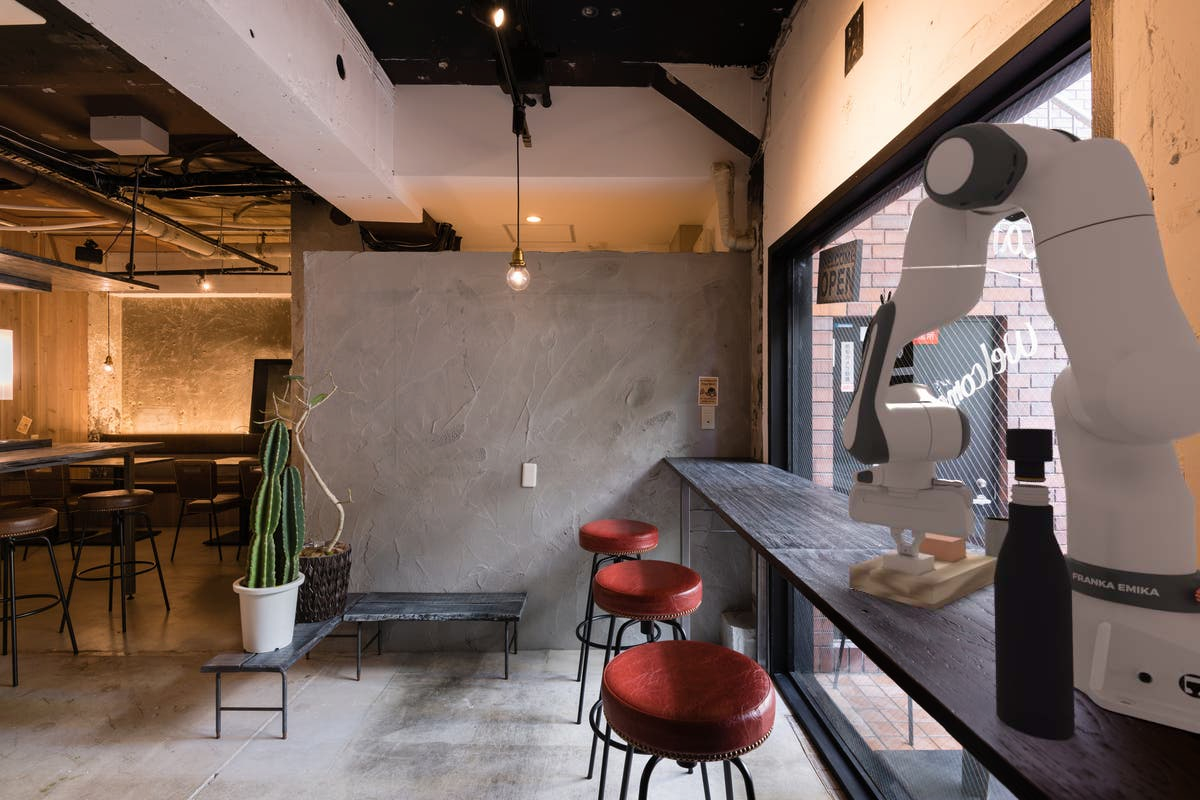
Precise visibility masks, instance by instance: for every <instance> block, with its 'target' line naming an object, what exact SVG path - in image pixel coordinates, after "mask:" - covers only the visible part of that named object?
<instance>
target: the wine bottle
mask: <svg viewBox="0 0 1200 800" xmlns="http://www.w3.org/2000/svg"><path fill="white" fill-rule="evenodd" d="M1053 435H1054V434H1053V429H1051V428H1023V427H1022V428H1019V427H1018V428H1017V427H1016V428H1006V429H1005V439H1006V440H1005V450H1006V451H1005V454H1006V458H1005V459H1006V460H1008V461H1014V476H1013V479H1014V481H1016V482H1023V483H1015V484H1014V483H1013V484H1011V488H1010V489H1009V491H1010V492H1011V495H1010V497H1009V498H1011V501H1008V503H1007V518H1008V531H1007V533H1006V536H1005V538H1004V541H1003V543H1002V546H1001V549H1000V551H999V554H998V558H997V563H996V568H995V573H994V582H993V590H994V591H993V593H994V594H993V597H994V598H993V600H994V601H993V602H994V607H993V609H994V650H995V651H994V653H995V655H994V656H995V700H996V701H995V706H996V715H997V716H998V719H1000V720H1001V721H1002V723H1004V724H1005V725H1007V726H1008V727H1011V729H1014V730H1017V731H1018V732H1021V733H1023V734H1026V735H1030V736H1033V737H1036V738H1041V739H1046V740H1056V741H1058V740H1059V741H1061V740H1067V739H1071V738H1072V737H1074V736H1075V732H1076V731H1075V728H1076V727H1075V726H1076V725H1075V722H1076V721H1075V720H1076V719H1075V716H1076V715H1075V687H1074V666H1073V617H1072V585H1071V580H1070V576H1069V571H1068V568H1067V564H1066V560H1065V558H1064V554H1063V551H1062V549H1061V546H1060V544H1059V541H1058V538H1057V537H1056V534H1055V528H1054V527H1055V526H1054V525H1055V524H1054V523H1055V522H1054V521H1055V519H1054V518H1055V517H1054V506H1053V505H1052V504H1050V503H1049V502H1051V500H1052V499H1051V498H1050V497H1049V495H1050V494H1051V491H1050V490H1049V486H1047V485H1041V484H1031V483H1045V482H1046V481H1047V478H1046V464H1045V463H1052V462H1054V444H1053V443H1054V441H1053V439H1054V438H1053ZM1028 483H1030V484H1028Z"/></svg>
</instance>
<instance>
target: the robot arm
mask: <svg viewBox="0 0 1200 800" xmlns="http://www.w3.org/2000/svg"><path fill="white" fill-rule="evenodd" d="M921 173H922V175H921V176H922V185H923V189H924V191H925V193H926V197H924V198H922V199H921V200H919V202H918V203H917V204H916V206H915V207H914V208H913V210H912V213H911V217H910V221H909V225H908V229H907V232H906V233H907V234H906V238H905V241H904V243H905V244H904V247H903V255H902V256H903V257H902V266H901V274H900V279H899V281H898V284H897V287H896V289H895V291H894V293H893V294H892V296H891V297H890V298H889V300H888V301H886V302H884V303H882V304H881V305H880V306H879V307H878V308H877V310H876V311H875V314H874V316H873V319H872V322H871V324H870V328H869V332H868V334H867V339H866V342H865V347H864V349H863V350H864V351H863V355H862V358H861V363H860V366H859V370H858V374H857V379H856V383H855V387H854V390H853V394H852V397H851V401H850V404H849V405H848V408H847V411H846V414H845V417H844V420H843V426H842V433H841V435H842V439H841V440H842V445H843V449H844V450H845V451H846V452H847V453H848V454H849V455H850V456H851V457H852V458H854V459H855V461H857V462H859V463H861V464H862V465H864V466H869V467H868V468H864V469H860V470H856V471H853V472H852V474H851V481H852V482H853V483H854V484H853V485H852V486H851V488H850V490H849V495H848V516H849V518H850V519H851V520H852V521H853V522H855V523H863V524H867V525H868V524H869V525H874V526H880V527H887V528H889V529H890V535H891V537H892V539H893V540H894V542H895V544H896V547H897V548H896V550H897V552H898V554H903V555H908V556H913V557H916V556H918V555H919V546H920V544H921V543H922V541H923V540H924V538H925V537H926V534H927V533H930V534H936V535H942V536H949V537H955V538H969V537H971V536H972V535H973V534H974V533H975V527H976V525H975V518H974V512H973V504H974V491H973V489H972V488H971V487H970V486H969V485H967V484H966V483H964V482H963V481H962V480H955V479H954V480H949V479H944V478H936V476H937V475H936V463H942V462H943V463H945V462H950V461H956V460H957V459H959V458H960V457H961V456H962V455H963V454H964V453H965V452H966V450H967V449H968V448H969V446H970V443H971V423H970V421H969V418H968V416H967V415H966V414H965V412H963V411H962V410H961V409H960V407H958V406H956V405H955V404H952V403H950V404H949V403H947V402H945V401H942V400H940V399H938V398H937V397H936V396H934V394H933V391H932V388H931V387H930V386H929V385H927V384H923V383H919V382H918V383H917V382H906V383H900V384H899V383H898V384H893V385H890V381H891V378H892V374H893V370H894V367H895V362H896V360H897V357H898V355H899V353H901V351H902V349H903V348H905V346H907V345H908V344H909V343H910V342H913V340H914V341H915V340H916V339H917V338H920V337H922V336H924V335H926V334H929V333H931V332H935V331H937V330H940V329H942V328H945V327H948V326H950V325H952V324H954V323H956V322H958V321H959V320H961V319H963V318H964V317H965V316H967V315H968V314H969V313H970V312H971V311H972V310H973V309H974V308H975V307H976V306H977V305H978V303H979V302H980V299H981V297H982V295H983V290H984V287H985V281H986V280H985V279H986V274H987V273H986V271H987V263H988V262H987V261H988V247H989V242H990V241H989V240H990V236H991V234H992V231H993V230H994V228H995V227H996V226H997V225H998V224H999V223H1000V222H1002V220H1005V221H1009V222H1010V223H1014V222H1018V221H1020V220H1022V219H1025V218H1027V219H1028V222H1029V225H1030V229H1031V234H1032V241H1033V247H1034V252H1035V258H1036V263H1037V267H1038V273H1039V277H1040V283H1041V290H1042V293H1043V299H1044V304H1045V309H1046V311H1047V314H1048V315H1049V316H1050V317H1051V319H1052V321H1053V323H1054V324H1055V328H1056V330H1057V332H1058V334H1059V337H1060V340H1061V342H1062V346H1063V347H1064V350H1065V353H1066V356H1067V359H1068V361H1069V364H1068V365H1066V366H1065V367H1064V368H1063V369H1062V370H1061V372H1059V374H1058V376H1057V377H1056V378H1055V380H1054V382H1053V384H1052V387H1051V391H1050V402H1051V407H1052V410H1053V411H1052V412H1053V420H1054V429H1055V437H1056V443H1057V450H1058V455H1059V459H1060V461H1059V462H1060V467H1061V470H1062V476H1063V482H1064V490H1065V491H1064V492H1065V510H1066V511H1065V520H1066V553H1064V554H1063V555H1064V558H1065V560H1066V564H1067V568H1068V571H1069V576H1070V580H1071V585H1072V617H1073V666H1074V688H1076V689H1078V690H1079V691H1081V692H1082V693H1084V694H1085V695H1087V696H1088V698H1090V699H1091V700H1092V701H1093V703H1095V704H1096V705H1098V706H1099V707H1100V708H1103V709H1106V710H1107V711H1110V712H1111V711H1112V712H1114V713H1117V714H1122V715H1126V716H1131V717H1135V718H1137V719H1142V720H1144V721H1145V720H1146V721H1149V722H1154V723H1157V724H1160V725H1165V726H1168V727H1172V728H1176V729H1180V730H1184V731H1187V732H1191V733H1195V734H1199V735H1200V569H1198V567H1197V566H1198V564H1197V562H1198V561H1197V531H1196V530H1197V528H1196V527H1197V526H1196V525H1197V523H1196V500H1195V497H1194V494H1193V492H1192V491H1191V489H1190V488H1189V485H1188V484H1187V482H1186V479H1185V476H1184V474H1183V470H1182V468H1181V465H1180V461H1179V458H1178V457H1179V456H1178V454H1177V451H1176V447H1175V442H1178V441H1181V440H1185V439H1187V438H1190V437H1192V436H1194V435H1197V434H1199V433H1200V343H1199V340H1198V338H1197V336H1196V333H1195V331H1194V329H1193V328H1192V326H1191V323H1190V322H1189V320H1188V317H1187V316H1186V314H1185V312H1184V310H1183V308H1182V307H1181V305H1180V302H1179V300H1178V298H1177V296H1176V294H1175V291H1174V288H1173V286H1172V283H1171V280H1170V276H1169V272H1168V268H1167V263H1166V259H1165V254H1164V250H1163V244H1162V241H1161V236H1160V232H1159V227H1158V223H1157V222H1158V221H1157V219H1156V213H1155V209H1154V205H1153V202H1152V199H1151V196H1150V192H1149V189H1148V187H1147V183H1146V181H1145V178H1144V176H1143V174H1142V172H1141V169H1140V167H1139V165H1138V162H1137V161H1136V159H1135V157H1134V155H1133V154H1132V152H1131V150H1130V149H1129V147H1128V146H1127V145H1126V144H1125V142H1122V141H1120V140H1118V139H1115V138H1112V137H1111V138H1110V137H1092V138H1091V137H1090V138H1085V139H1081V138H1080V137H1078V136H1077V135H1075V134H1074V133H1071V132H1069V131H1066V130H1063V129H1060V128H1046V127H1042V126H1037V125H1031V124H1028V123H1022V122H998V123H997V122H996V123H990V122H984V121H983V122H982V121H981V122H979V121H978V122H974V123H969V124H968V123H967V124H964V125H961V126H957V127H954V128H952V129H950V130H948V131H946V132H945V133H944V134H942V135H941V136H940V137H939V138H938V139H937V140H936V141H935V142H934V144H933V145H932V147H930V149H929V151H928V153H927V155H926V157H925V159H924V163H923V168H922V172H921ZM870 465H871V466H870ZM872 465H873V466H872ZM905 531H911V537H912V538H914V539H913V541H912V542H911V543H907V542H906V541H905V539H904V537H903V535H902V534H904V533H905Z"/></svg>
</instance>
